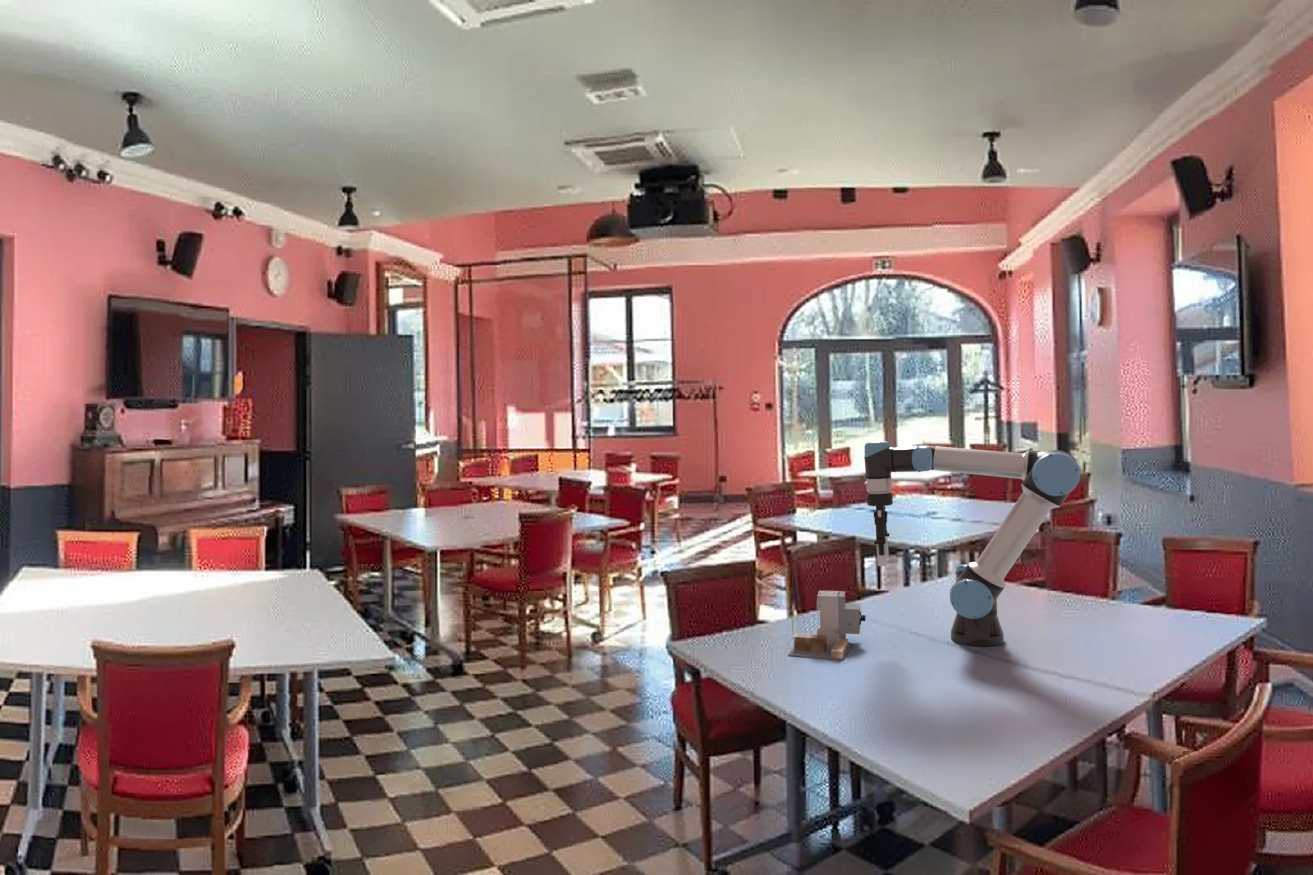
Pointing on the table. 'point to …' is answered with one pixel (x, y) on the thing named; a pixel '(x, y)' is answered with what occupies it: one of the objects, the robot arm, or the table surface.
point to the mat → (817, 653)
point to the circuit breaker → (837, 616)
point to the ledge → (839, 648)
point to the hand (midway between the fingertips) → (883, 562)
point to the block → (810, 642)
